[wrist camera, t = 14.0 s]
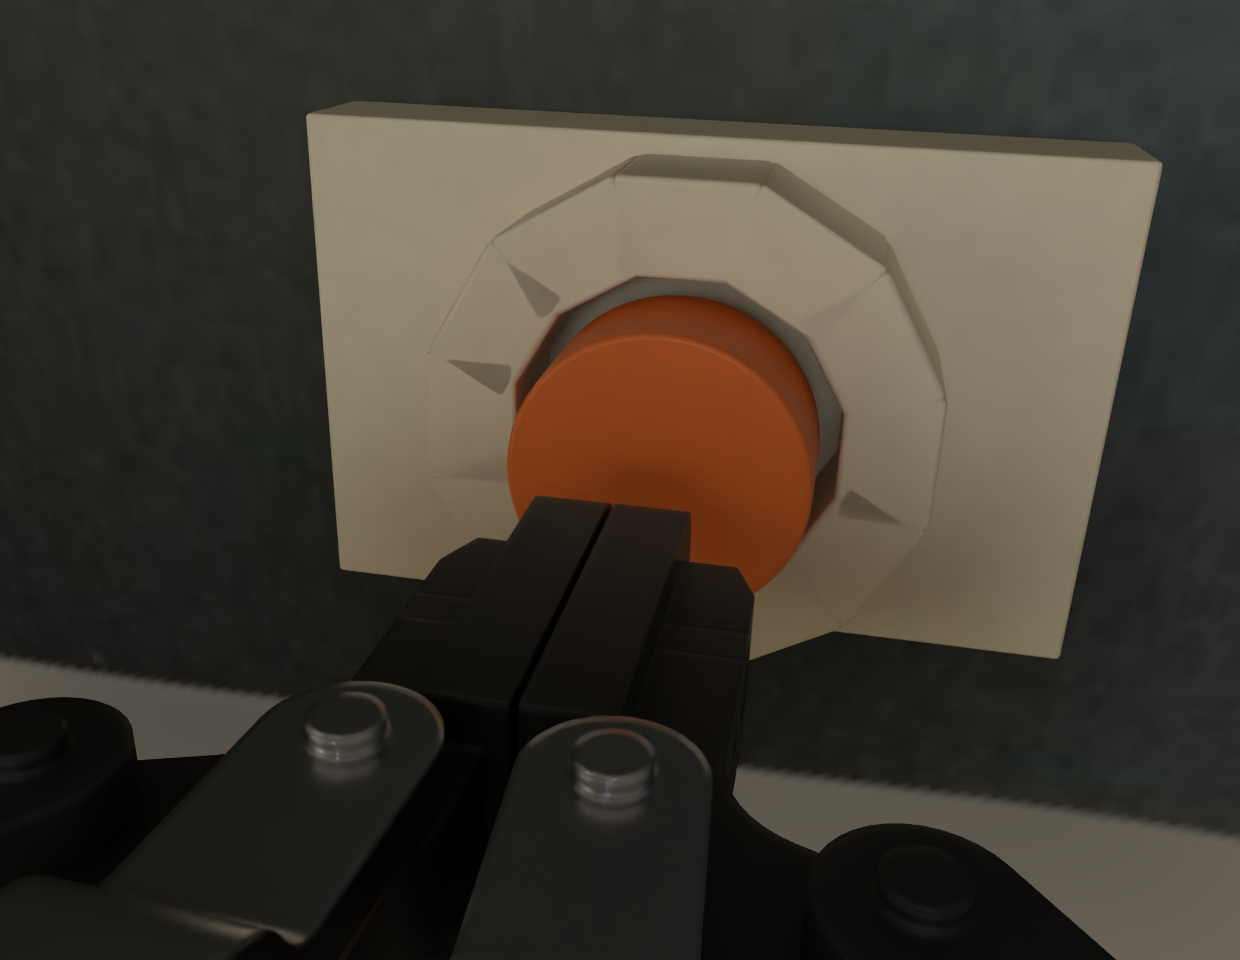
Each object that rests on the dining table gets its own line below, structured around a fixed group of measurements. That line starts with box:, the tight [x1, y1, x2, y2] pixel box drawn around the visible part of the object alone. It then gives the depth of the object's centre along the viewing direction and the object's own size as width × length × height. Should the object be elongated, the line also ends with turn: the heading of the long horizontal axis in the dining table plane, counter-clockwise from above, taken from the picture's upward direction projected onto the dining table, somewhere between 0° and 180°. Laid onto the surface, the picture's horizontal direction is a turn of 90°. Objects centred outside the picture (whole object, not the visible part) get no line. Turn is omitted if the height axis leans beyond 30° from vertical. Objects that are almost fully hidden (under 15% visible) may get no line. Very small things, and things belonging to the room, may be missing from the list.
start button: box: [507, 295, 820, 594], centre depth 14 cm, size 4×4×2 cm
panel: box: [306, 101, 1162, 660], centre depth 16 cm, size 11×7×4 cm, turn 88°
